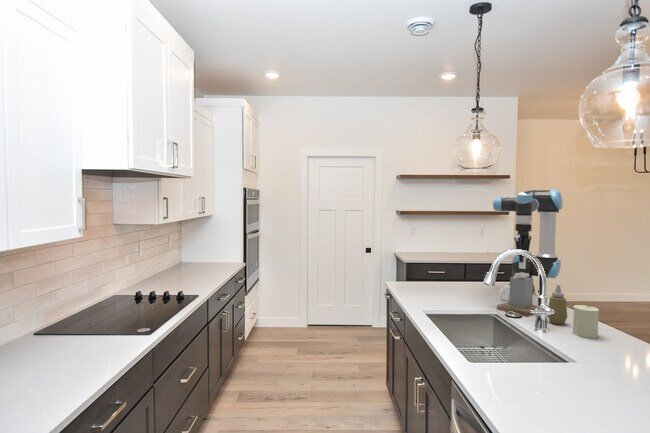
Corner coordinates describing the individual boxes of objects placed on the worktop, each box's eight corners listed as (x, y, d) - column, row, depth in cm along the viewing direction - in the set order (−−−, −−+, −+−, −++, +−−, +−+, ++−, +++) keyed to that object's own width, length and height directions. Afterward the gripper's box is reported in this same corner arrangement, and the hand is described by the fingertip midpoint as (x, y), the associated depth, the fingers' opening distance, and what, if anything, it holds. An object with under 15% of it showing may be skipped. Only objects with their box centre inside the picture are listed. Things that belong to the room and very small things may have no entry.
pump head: (521, 289, 204) (521, 272, 204) (528, 291, 201) (529, 273, 201) (510, 292, 198) (510, 274, 198) (517, 293, 195) (518, 275, 195)
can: (600, 334, 164) (601, 307, 164) (594, 339, 158) (595, 311, 158) (576, 329, 171) (577, 302, 171) (569, 333, 165) (570, 306, 165)
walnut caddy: (515, 304, 213) (515, 300, 213) (544, 311, 200) (545, 307, 199) (496, 309, 202) (496, 305, 202) (527, 316, 189) (527, 312, 189)
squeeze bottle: (555, 319, 185) (557, 283, 184) (571, 325, 177) (572, 286, 176) (543, 321, 182) (544, 283, 182) (558, 326, 175) (559, 287, 174)
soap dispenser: (517, 303, 206) (518, 276, 206) (532, 307, 200) (533, 278, 199) (509, 305, 202) (510, 277, 201) (524, 309, 195) (525, 280, 195)
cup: (519, 301, 218) (520, 287, 218) (503, 302, 217) (503, 288, 217) (512, 298, 225) (512, 285, 225) (496, 298, 224) (496, 285, 224)
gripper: (524, 224, 192) (522, 270, 194) (537, 223, 200) (535, 268, 201) (509, 223, 199) (508, 268, 200) (522, 222, 206) (521, 266, 207)
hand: (522, 268), depth 200 cm, fingers closed
